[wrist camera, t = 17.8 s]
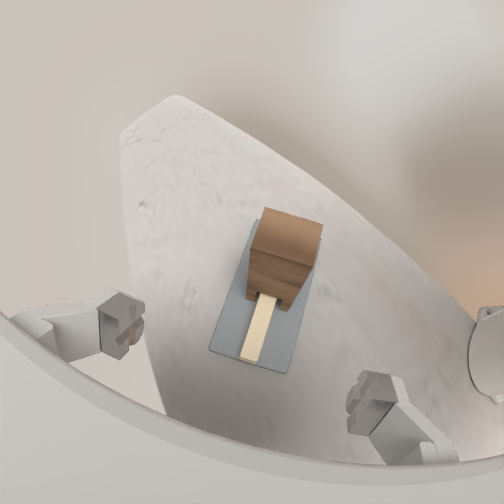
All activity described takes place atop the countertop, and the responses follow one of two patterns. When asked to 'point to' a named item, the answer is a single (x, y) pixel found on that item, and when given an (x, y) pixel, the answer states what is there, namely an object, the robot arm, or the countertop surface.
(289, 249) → the walnut block
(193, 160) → the countertop surface
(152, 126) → the countertop surface
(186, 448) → the robot arm
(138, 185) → the countertop surface
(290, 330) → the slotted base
